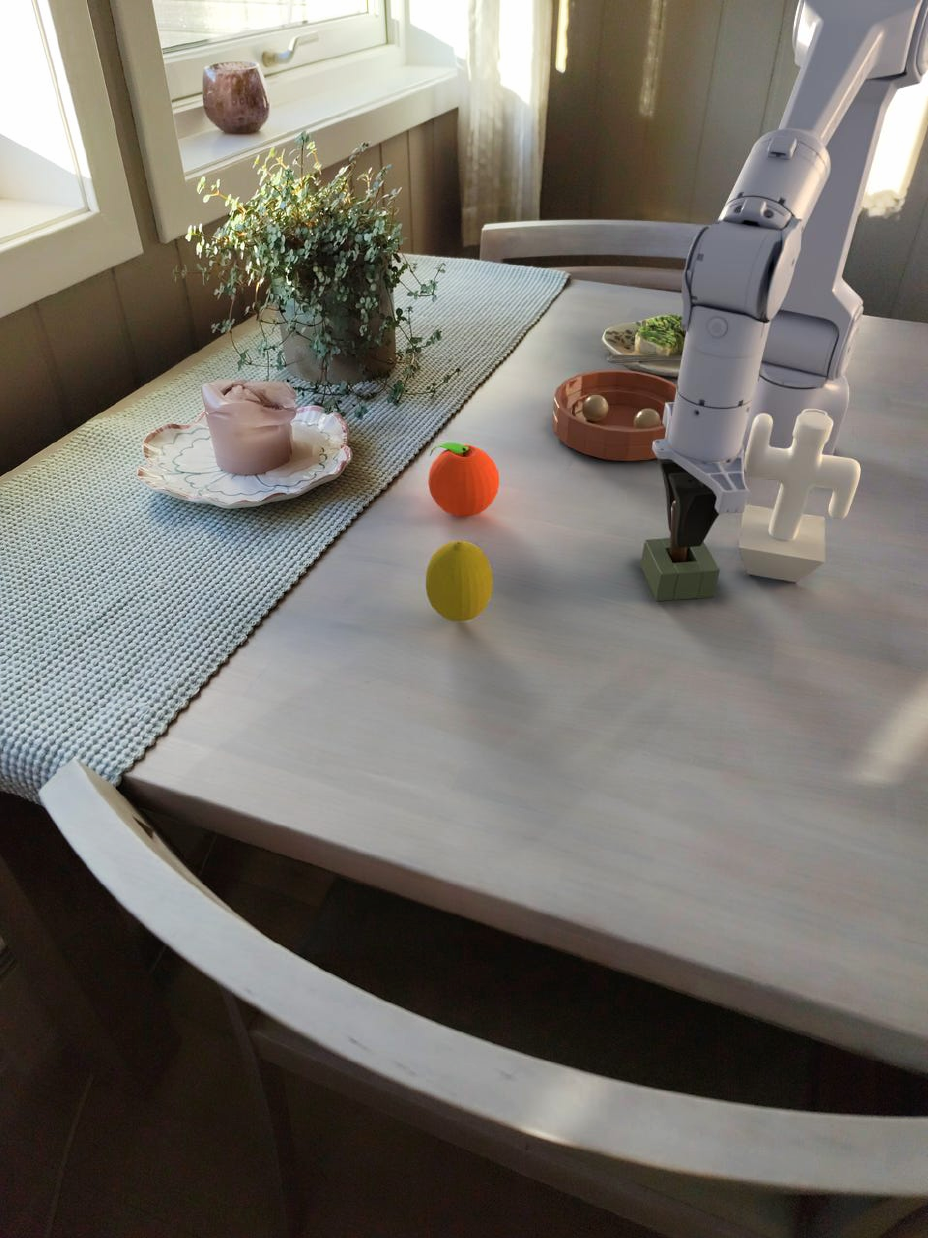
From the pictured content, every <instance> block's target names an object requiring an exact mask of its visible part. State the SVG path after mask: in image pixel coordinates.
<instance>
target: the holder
mask: <svg viewBox="0 0 928 1238" xmlns="http://www.w3.org/2000/svg"><path fill="white" fill-rule="evenodd" d="M642 548H643V549H642V555H641V560H640V568H641V572H643V575H644V577H645V579H646V581H647V583H648V586H649V588H650V590H651V592H652V595H653V597H654V599H655V601H656V602H663V601H677V600H690V599H691V600H692V599H704V598H706V599H707V598H714V596H715V592H716V588H717V584H718V579H719V575H720V571H721V570H720V568H719V565H718V564H717V563H716V561H715V559H714V557H713V556H712V554H711V552H710V550H709V548H708V547H707V545H706V543H705V540H704V541H703V543H702V544H701V546H697V547H687V549H686V562H680V563H672V561H671V559H670V537H663V538H650V539H645V540H644V541H643V547H642Z"/></svg>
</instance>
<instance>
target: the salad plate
mask: <svg viewBox="0 0 928 1238" xmlns="http://www.w3.org/2000/svg"><path fill="white" fill-rule="evenodd" d="M681 320H682V314H671V313H670V314H662V315H657V316H652V317H650V318H649V317H648V318H646V319H642V320H641V319H640V320H638V321H633V322H626V323H622V324H617V325H613V326H610V327H608V328H606V329H605V331H604V332H603V334H602V337H601V339H600V342H601V344H603V345H604V347H605V348H606V350H607V351H608V352H609V353H610V354H609V355H608V356H607V362H609V363H611V364H616V365H622V366H626V367H627V368H629V370H631V371H637V372H642V373H646V374H651V375H655V376H663V377H670V378H678V377H679V371H680V365H681V359H682V354H683V348H684V342H685V336H686V331H684V329H682V324H681Z"/></svg>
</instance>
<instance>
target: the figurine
mask: <svg viewBox="0 0 928 1238" xmlns="http://www.w3.org/2000/svg"><path fill="white" fill-rule="evenodd" d="M772 426H773V420H772V418H771V416H770V415H768V414H765V413H762V414H759V415H757V416H756V417H755V419H754V421H753V424H752V428H751V432H750V436H749V440H748V445H747V449H746V453H745V457H744V473H746V474H747V475H748V476H750V477H753V478H758V479H762V480H763V479H764V480H770V481H775V482H778V483H780V487H779V490H778V493H777V497H776V499H775V500H776V501H775V504H774V507H773V508H770V507H765V506H758V505H751V504H746V505H745V509H744V512H742V515H741V523H740V531H739V540H738V550H739V553H740V557H741V559H742V562H743V565H744V567H745V571H746V573H747V575H752V576H756V577H761V578H762V577H763V578H767V579H772V580H773V579H774V580H779V581H784V582H785V581H786V582H789V583H790V582H791V583H796V584H797V583H798V582H800V581H801V580H803V579H805V578H806V577H807V576H808V575H809V574H812V572H814V571H815V570H816V569H818V568H820V567H821V566H822V565H823V564H825V562H826V527H825V526H826V520H825V519H826V518H825V516H821V515H820V516H819V515H814V514H809V513H804V512H805V510H806V506H807V502H808V500H809V496H810V493H811V491H812V489H813V487H814V488H815V487H816V488H821V489H828V490H831V491H832V495H831V498H830V502H829V505H828V514H829V516H830V517H831V518H833V519H834V520H838V521H840V520H844V519H845V518H846V517H847V516H848V514H849V512H850V508H851V505H852V503H853V500H854V498H855V494H856V491H857V488H858V485H859V483H860V478H861V465H860V463H859V462H858V461H857V460H856V459H853V458H850V457H844V456H838V455H837V456H836V455H834V456H831V455H824V454H822V451H823V447H824V444H825V443H826V442H827V441H828V439H829V436H830V433H831V430H832V427H833V420H832V419H831V418H830V417H828V416H827V413H826V412H825V411H822V410H818V409H805V410H804V411H803V412H802V414H800V415H798V417H797V420H796V423H795V427H794V431H793V437H794V439H793V443H792V446H791V447H790V448H787V449H782V448H775V447H771V446H770V445H769V439H770V435H771V431H772Z"/></svg>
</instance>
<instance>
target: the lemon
mask: <svg viewBox="0 0 928 1238" xmlns="http://www.w3.org/2000/svg"><path fill="white" fill-rule="evenodd" d="M493 587H494V578H493V571H492V567H491V563H490V561H489V559H488V557H487V555H486V554H485V553H484V551H483V550H482V549H481V548H480V547H479V546H477V545H476V544H474V543H473V542H469V541H465V540H452V541H449V542H447V543H444V544H443V545H441V546H440V547H439V548H438V549H436V551H434V553H433V554H432V556H431V558H430V560H429V562H428V565H427V568H426V573H425V591H426V596H427V598H428V601H429V603H430V605H431V607H432V608H433V610H435V612H436V613H437V614H438V615H439V616H441V617H442V618H444V619H446V620H449V621H451V622H452V621H453V622H467V621H470V620H473V619H474V618H476V617H478V616H479V615H480V614H481V613H482V612H483V611H484V610H485V609H486V608H487V606H488V604H489V602H490V601H491V598H492V594H493Z"/></svg>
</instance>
